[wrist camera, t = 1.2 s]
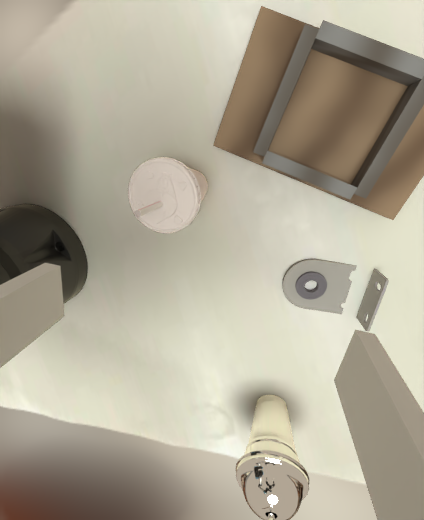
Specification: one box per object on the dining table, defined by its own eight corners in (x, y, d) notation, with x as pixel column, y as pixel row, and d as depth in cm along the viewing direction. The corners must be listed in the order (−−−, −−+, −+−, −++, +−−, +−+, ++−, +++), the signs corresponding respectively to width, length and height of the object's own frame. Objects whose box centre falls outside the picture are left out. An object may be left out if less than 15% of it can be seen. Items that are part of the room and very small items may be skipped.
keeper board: (215, 145, 30) (208, 144, 26) (261, 12, 25) (260, -10, 22) (388, 217, 29) (403, 225, 25) (471, 93, 24) (503, 83, 21)
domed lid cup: (308, 422, 41) (339, 640, 22) (252, 430, 44) (239, 629, 25) (289, 378, 39) (305, 579, 20) (231, 390, 42) (199, 575, 23)
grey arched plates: (288, 253, 33) (290, 263, 29) (377, 267, 31) (389, 280, 28) (277, 300, 35) (278, 314, 32) (359, 316, 34) (369, 332, 30)
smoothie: (161, 203, 33) (92, 233, 20) (172, 149, 31) (102, 144, 18) (210, 220, 33) (171, 261, 20) (226, 166, 30) (192, 173, 17)
